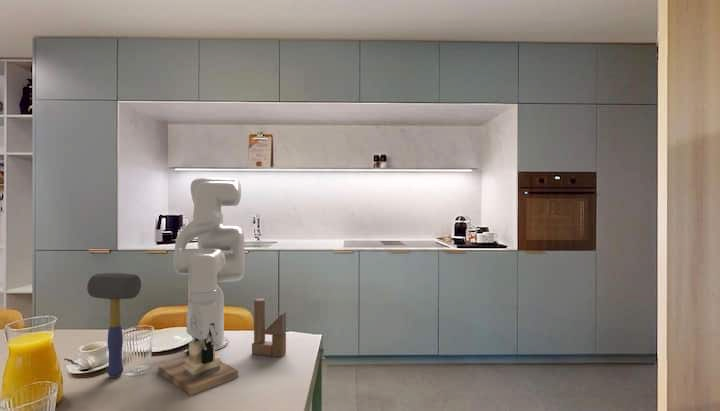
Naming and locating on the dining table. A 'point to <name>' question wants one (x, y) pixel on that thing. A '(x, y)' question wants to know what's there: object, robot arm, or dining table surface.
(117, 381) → the dining table surface
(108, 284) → the rubber mallet
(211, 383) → the walnut board
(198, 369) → the block
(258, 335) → the wooden block
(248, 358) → the dining table surface
